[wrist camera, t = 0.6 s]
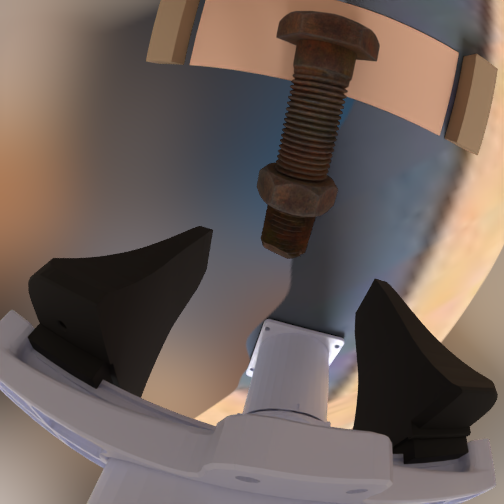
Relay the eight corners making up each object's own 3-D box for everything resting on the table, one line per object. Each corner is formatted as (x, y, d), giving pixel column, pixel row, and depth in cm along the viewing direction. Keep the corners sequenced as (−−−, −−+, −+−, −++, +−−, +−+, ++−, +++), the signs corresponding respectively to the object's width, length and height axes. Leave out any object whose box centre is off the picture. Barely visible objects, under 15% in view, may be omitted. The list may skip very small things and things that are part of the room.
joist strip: (464, 149, 15) (477, 155, 13) (160, 63, 16) (145, 61, 15) (483, 69, 11) (497, 68, 9) (179, -15, 13) (168, -23, 11)
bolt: (278, 221, 23) (317, 35, 14) (332, 250, 20) (387, 46, 12) (226, 244, 19) (264, 8, 10) (287, 284, 16) (352, 10, 8)
